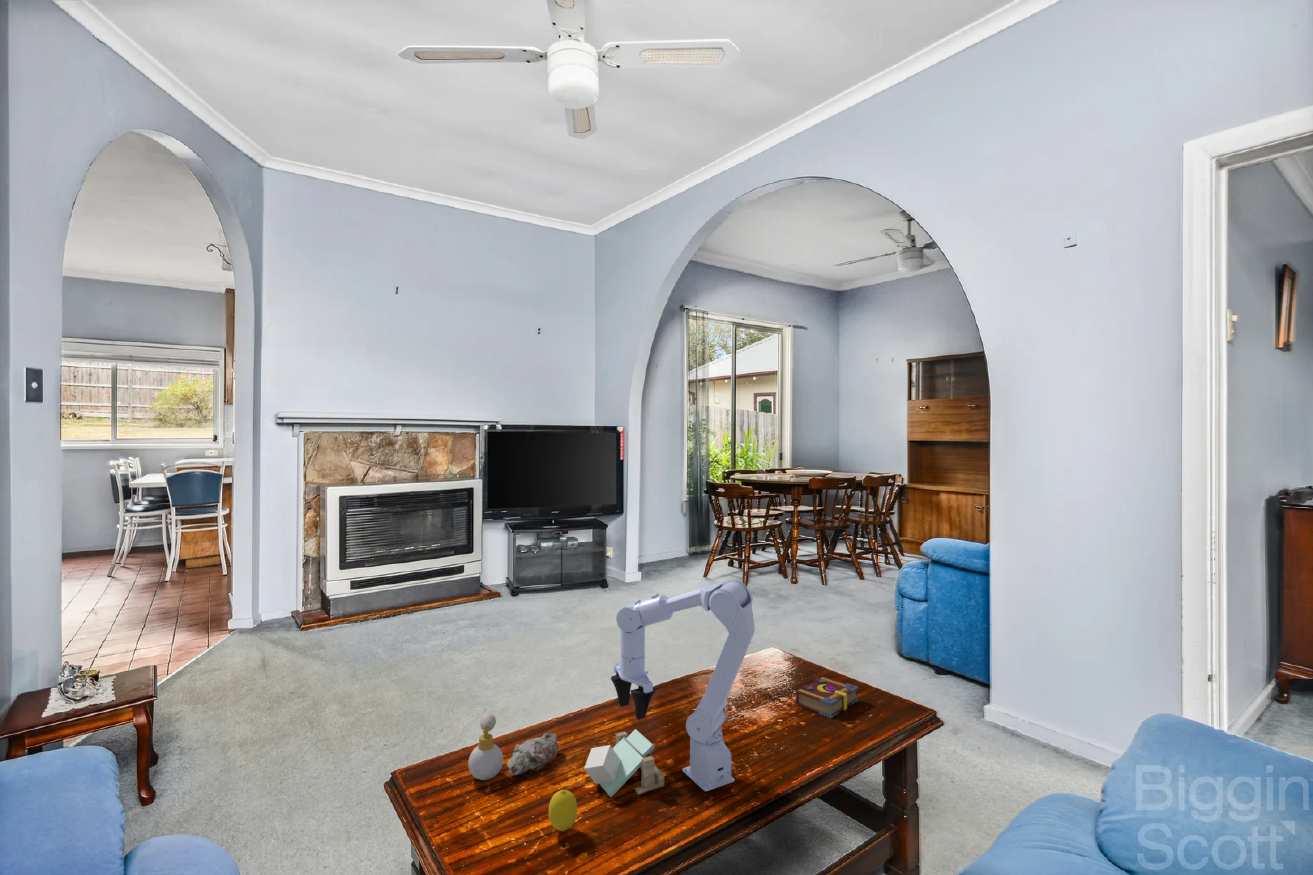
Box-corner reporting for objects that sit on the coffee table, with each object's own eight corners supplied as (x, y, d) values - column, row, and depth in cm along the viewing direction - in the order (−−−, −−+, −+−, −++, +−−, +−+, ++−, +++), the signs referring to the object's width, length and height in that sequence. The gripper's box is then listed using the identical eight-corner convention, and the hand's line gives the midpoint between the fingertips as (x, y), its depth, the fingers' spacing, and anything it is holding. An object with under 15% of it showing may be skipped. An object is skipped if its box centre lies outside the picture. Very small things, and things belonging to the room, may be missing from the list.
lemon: (578, 821, 123) (578, 781, 123) (575, 840, 118) (575, 798, 118) (550, 821, 123) (550, 781, 123) (546, 840, 118) (546, 798, 118)
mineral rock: (514, 783, 136) (514, 764, 136) (496, 768, 142) (496, 749, 142) (570, 759, 146) (570, 740, 146) (551, 746, 152) (551, 728, 152)
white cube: (621, 760, 138) (609, 744, 136) (614, 781, 134) (602, 765, 132) (602, 763, 140) (591, 748, 138) (595, 783, 136) (584, 768, 134)
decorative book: (795, 706, 175) (795, 688, 175) (824, 689, 186) (824, 672, 186) (831, 720, 167) (831, 701, 167) (860, 701, 178) (860, 683, 178)
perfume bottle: (473, 789, 134) (473, 734, 133) (461, 768, 142) (461, 716, 142) (507, 779, 138) (507, 725, 137) (494, 759, 146) (494, 708, 146)
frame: (664, 785, 136) (664, 755, 136) (638, 794, 132) (638, 763, 132) (634, 756, 148) (634, 728, 147) (609, 763, 144) (609, 735, 144)
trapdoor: (660, 753, 137) (656, 746, 136) (614, 802, 131) (609, 795, 131) (637, 732, 146) (633, 726, 145) (593, 777, 141) (588, 771, 140)
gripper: (663, 661, 144) (663, 719, 144) (631, 642, 156) (630, 696, 156) (637, 667, 140) (637, 727, 140) (606, 647, 152) (606, 703, 152)
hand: (632, 711), depth 148 cm, fingers open, 7 cm apart
